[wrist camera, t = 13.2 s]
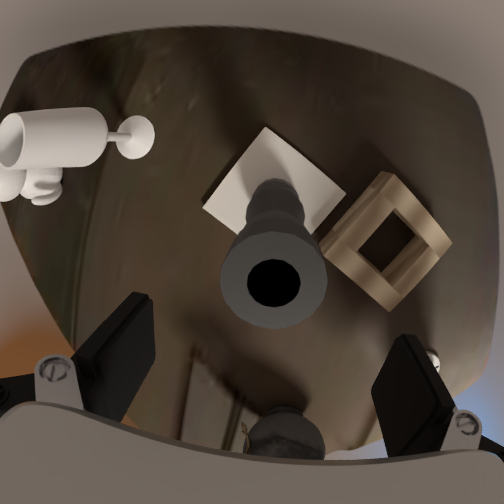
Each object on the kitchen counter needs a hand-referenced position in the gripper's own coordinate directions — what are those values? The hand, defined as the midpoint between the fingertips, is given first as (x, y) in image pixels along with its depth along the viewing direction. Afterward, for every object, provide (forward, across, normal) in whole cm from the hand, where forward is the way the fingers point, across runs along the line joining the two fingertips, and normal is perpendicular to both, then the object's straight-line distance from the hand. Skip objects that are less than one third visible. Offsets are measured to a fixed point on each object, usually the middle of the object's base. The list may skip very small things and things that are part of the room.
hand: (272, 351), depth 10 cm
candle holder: (+31, 0, 0) cm, 31 cm away
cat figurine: (+31, +40, -1) cm, 50 cm away
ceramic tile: (+31, +1, -1) cm, 31 cm away
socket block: (+32, -16, +2) cm, 35 cm away
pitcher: (+32, -8, +42) cm, 54 cm away
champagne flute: (+31, +22, -7) cm, 39 cm away
